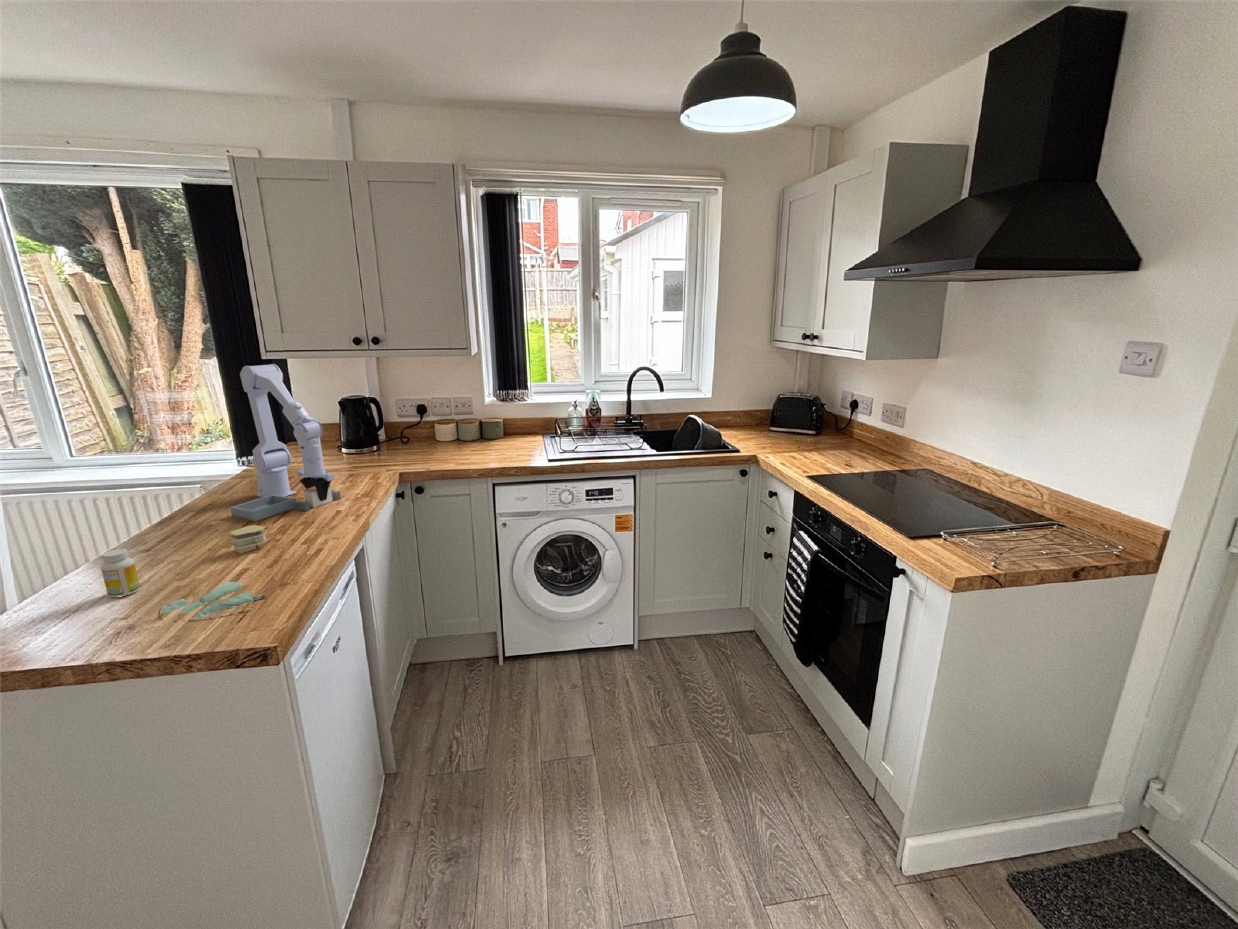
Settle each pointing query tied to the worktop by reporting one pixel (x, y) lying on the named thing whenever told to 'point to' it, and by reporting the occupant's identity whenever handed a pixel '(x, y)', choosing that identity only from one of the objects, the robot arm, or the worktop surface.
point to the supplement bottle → (119, 573)
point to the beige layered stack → (248, 538)
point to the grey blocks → (305, 505)
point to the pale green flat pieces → (214, 606)
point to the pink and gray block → (316, 497)
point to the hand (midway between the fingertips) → (318, 499)
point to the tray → (263, 507)
